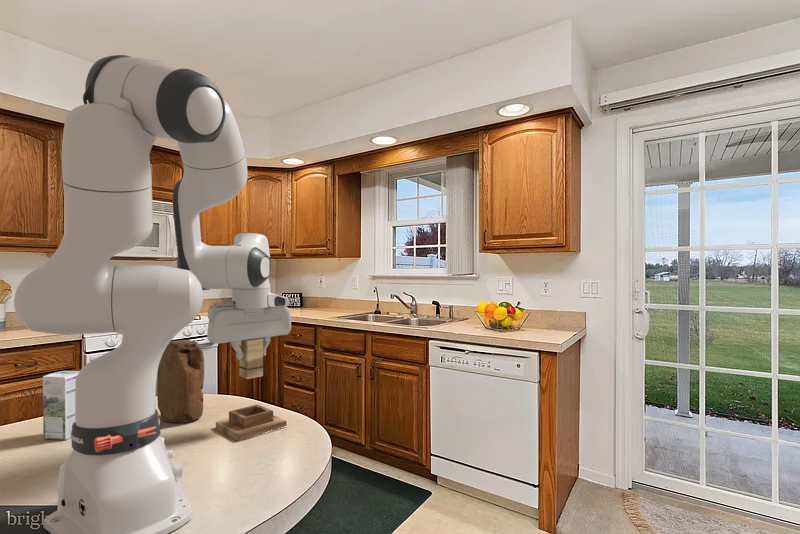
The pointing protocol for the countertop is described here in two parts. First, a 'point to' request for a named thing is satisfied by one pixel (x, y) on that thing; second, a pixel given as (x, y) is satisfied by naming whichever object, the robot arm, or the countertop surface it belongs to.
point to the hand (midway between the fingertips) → (251, 357)
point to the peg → (251, 358)
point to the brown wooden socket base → (250, 422)
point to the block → (181, 382)
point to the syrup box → (59, 404)
